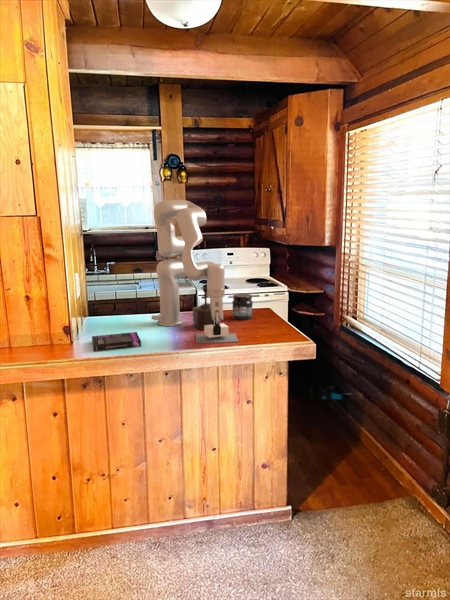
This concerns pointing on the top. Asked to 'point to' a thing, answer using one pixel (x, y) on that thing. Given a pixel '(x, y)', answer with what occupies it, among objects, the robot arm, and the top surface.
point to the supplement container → (242, 306)
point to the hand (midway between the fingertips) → (216, 331)
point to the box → (116, 341)
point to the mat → (216, 339)
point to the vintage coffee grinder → (202, 314)
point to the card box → (209, 330)
